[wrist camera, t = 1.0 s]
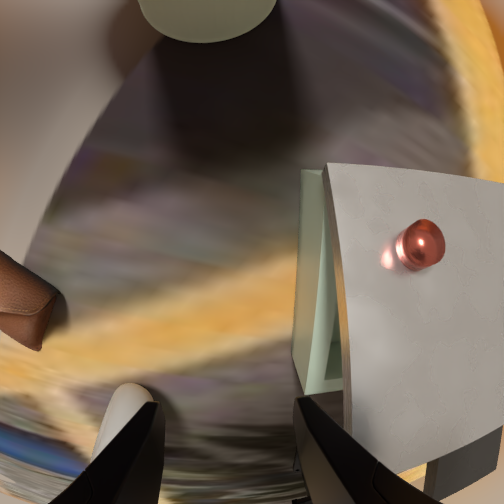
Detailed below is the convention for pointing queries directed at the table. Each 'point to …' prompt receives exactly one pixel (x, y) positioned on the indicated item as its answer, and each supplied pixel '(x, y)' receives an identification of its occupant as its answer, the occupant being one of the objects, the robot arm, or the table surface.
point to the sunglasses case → (24, 303)
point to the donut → (120, 413)
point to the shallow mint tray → (316, 295)
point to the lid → (420, 317)
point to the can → (205, 18)
